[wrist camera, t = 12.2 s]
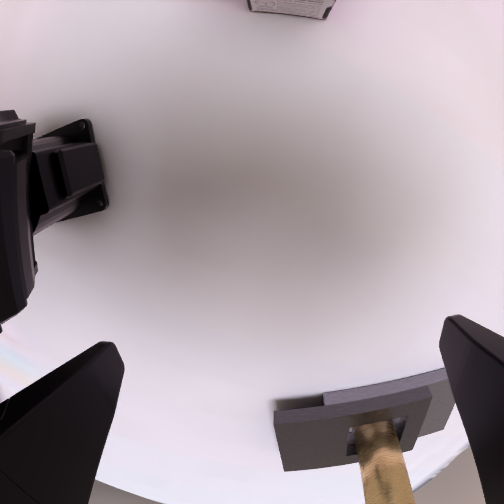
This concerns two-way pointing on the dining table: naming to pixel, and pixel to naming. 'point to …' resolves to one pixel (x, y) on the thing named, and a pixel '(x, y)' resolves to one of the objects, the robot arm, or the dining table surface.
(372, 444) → the brass pin
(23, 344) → the dining table surface
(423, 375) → the grey rectangular frame
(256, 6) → the candy bar box
